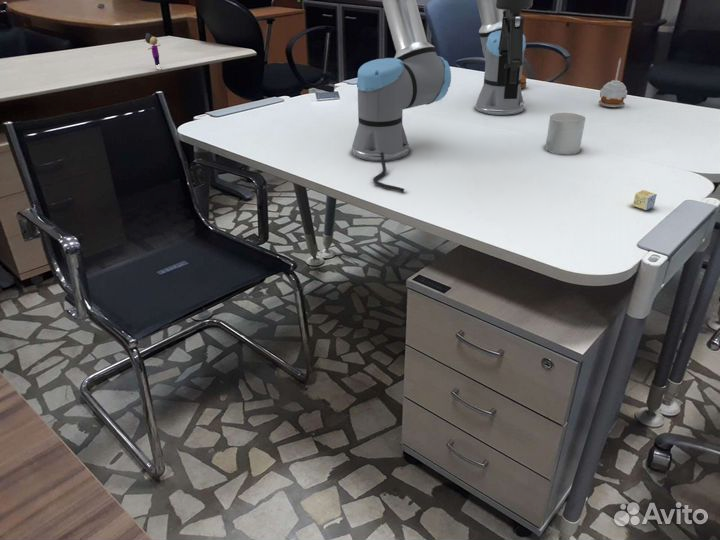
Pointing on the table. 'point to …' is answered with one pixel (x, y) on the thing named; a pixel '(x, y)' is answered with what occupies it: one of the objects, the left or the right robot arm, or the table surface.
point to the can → (565, 133)
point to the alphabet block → (644, 200)
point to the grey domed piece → (613, 92)
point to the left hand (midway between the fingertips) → (506, 91)
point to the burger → (523, 81)
